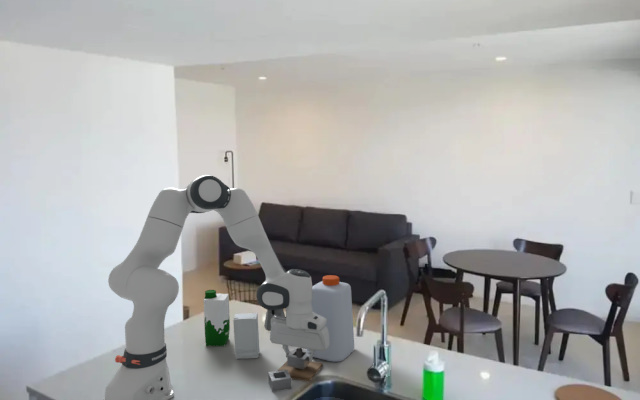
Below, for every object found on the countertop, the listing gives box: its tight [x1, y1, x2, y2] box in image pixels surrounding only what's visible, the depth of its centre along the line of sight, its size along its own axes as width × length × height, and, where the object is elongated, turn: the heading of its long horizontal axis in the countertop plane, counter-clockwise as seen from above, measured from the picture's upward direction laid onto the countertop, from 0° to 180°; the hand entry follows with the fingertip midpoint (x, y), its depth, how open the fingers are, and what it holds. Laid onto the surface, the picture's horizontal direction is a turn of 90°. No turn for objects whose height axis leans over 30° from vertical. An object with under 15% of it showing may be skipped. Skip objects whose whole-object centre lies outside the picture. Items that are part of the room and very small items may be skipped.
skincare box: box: [232, 312, 260, 360], centre depth 173 cm, size 8×6×15 cm
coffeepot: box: [264, 309, 286, 331], centre depth 198 cm, size 15×9×18 cm, turn 178°
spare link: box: [267, 370, 292, 393], centre depth 152 cm, size 6×6×4 cm
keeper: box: [276, 347, 324, 383], centre depth 162 cm, size 12×12×8 cm
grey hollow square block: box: [286, 348, 311, 369], centre depth 162 cm, size 6×6×4 cm
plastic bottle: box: [305, 274, 355, 363], centre depth 174 cm, size 15×15×28 cm
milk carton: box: [203, 289, 231, 347], centre depth 183 cm, size 9×9×20 cm
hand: (299, 358), depth 162 cm, fingers closed on grey hollow square block, 6 cm apart
